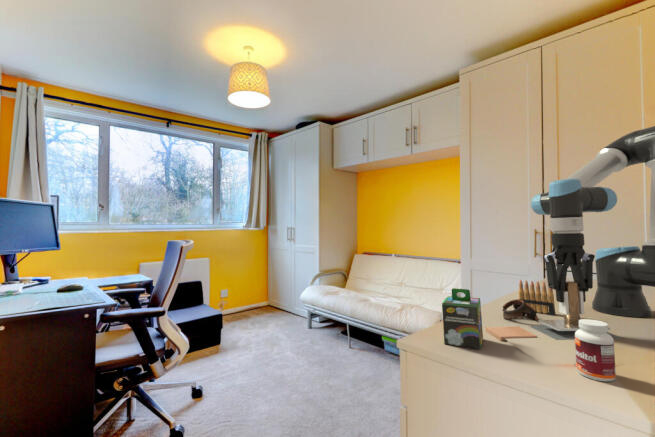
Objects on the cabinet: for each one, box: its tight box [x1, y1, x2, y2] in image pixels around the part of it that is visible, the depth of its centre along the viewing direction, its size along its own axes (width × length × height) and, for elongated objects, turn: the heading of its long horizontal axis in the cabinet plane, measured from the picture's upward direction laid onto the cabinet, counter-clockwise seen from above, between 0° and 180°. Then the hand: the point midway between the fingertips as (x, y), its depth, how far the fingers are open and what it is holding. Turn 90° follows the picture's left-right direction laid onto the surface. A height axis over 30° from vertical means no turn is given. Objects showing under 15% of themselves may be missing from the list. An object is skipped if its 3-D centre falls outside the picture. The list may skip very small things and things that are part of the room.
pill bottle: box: [574, 318, 617, 383], centre depth 63 cm, size 6×6×11 cm
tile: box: [485, 326, 538, 342], centre depth 87 cm, size 2×8×10 cm
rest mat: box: [528, 324, 626, 341], centre depth 87 cm, size 18×12×1 cm, turn 89°
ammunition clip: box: [518, 279, 556, 317], centre depth 107 cm, size 11×2×12 cm, turn 44°
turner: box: [537, 280, 611, 331], centre depth 87 cm, size 14×8×13 cm, turn 89°
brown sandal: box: [502, 298, 539, 323], centre depth 100 cm, size 12×10×8 cm
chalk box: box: [441, 288, 484, 351], centre depth 84 cm, size 9×9×15 cm
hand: (571, 313), depth 87 cm, fingers closed on turner, 4 cm apart
